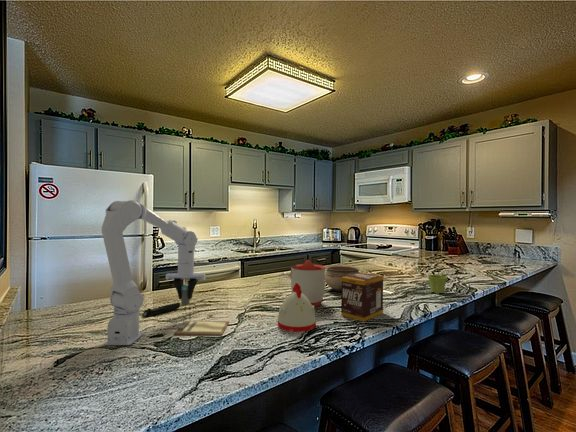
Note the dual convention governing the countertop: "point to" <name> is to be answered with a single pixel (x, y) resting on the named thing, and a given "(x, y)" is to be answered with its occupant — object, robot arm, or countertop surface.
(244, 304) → the countertop surface
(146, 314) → the electric trimmer
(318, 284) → the citrus juicer
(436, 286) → the plant pot
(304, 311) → the kitchen timer
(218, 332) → the clipboard
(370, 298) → the supplement box
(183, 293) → the marker
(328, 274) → the cooking pot
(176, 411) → the countertop surface
